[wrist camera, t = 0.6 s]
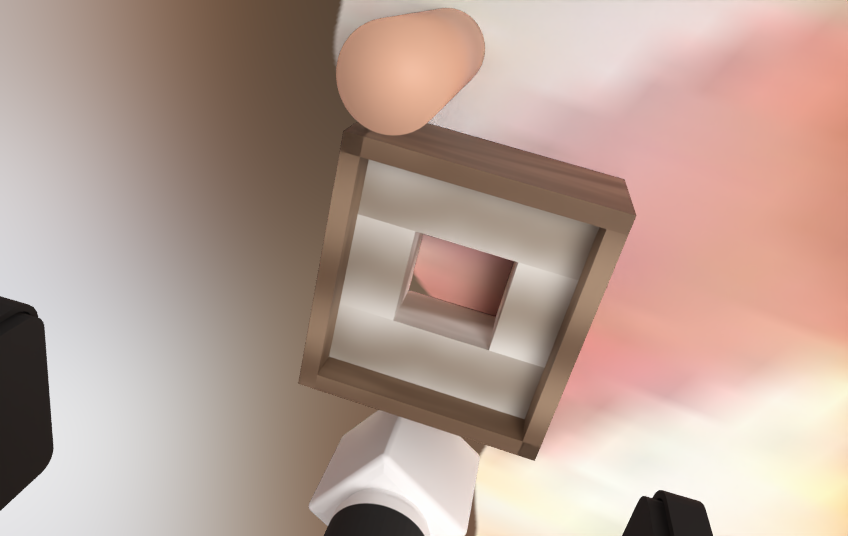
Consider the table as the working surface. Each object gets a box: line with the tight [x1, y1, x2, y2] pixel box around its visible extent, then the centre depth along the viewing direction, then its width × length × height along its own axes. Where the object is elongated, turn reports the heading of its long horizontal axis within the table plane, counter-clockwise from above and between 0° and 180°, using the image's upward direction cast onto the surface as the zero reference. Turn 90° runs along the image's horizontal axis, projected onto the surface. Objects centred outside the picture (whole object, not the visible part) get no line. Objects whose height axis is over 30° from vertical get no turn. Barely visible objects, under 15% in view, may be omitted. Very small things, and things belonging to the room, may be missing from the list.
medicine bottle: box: [309, 410, 480, 536], centre depth 39 cm, size 7×7×12 cm
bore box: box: [298, 122, 636, 461], centre depth 35 cm, size 15×14×6 cm
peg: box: [336, 8, 485, 135], centre depth 28 cm, size 4×4×12 cm
